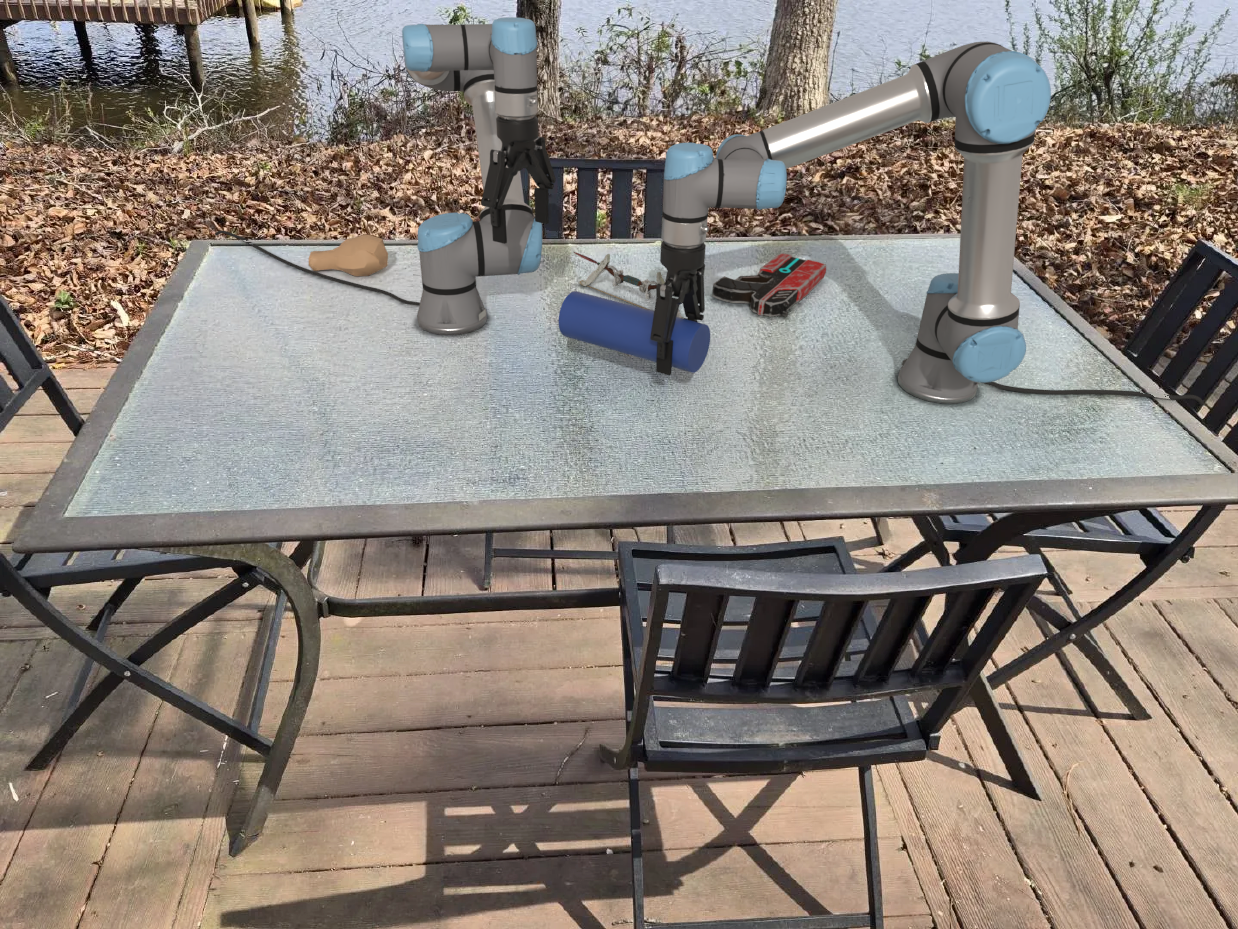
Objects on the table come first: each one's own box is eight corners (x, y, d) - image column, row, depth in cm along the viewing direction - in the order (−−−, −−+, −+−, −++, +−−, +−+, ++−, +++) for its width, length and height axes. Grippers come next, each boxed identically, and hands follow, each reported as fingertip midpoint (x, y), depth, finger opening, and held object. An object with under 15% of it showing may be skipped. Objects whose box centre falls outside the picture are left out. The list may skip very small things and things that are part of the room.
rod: (558, 343, 166) (557, 300, 161) (584, 327, 172) (583, 284, 167) (686, 380, 154) (689, 335, 149) (708, 361, 161) (712, 317, 156)
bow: (697, 327, 197) (701, 285, 192) (692, 329, 196) (696, 287, 191) (576, 279, 219) (576, 241, 213) (571, 281, 218) (571, 242, 212)
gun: (708, 284, 207) (784, 305, 199) (760, 245, 229) (831, 262, 221) (706, 302, 209) (781, 323, 201) (758, 261, 231) (828, 278, 223)
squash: (388, 280, 216) (377, 247, 210) (309, 287, 218) (296, 255, 212) (396, 257, 224) (386, 225, 218) (320, 264, 226) (308, 233, 219)
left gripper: (490, 131, 146) (497, 254, 158) (573, 106, 164) (573, 218, 176) (455, 125, 149) (464, 246, 161) (540, 100, 167) (542, 211, 179)
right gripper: (673, 265, 137) (666, 392, 150) (731, 228, 153) (720, 345, 165) (631, 256, 140) (628, 380, 153) (692, 220, 156) (684, 335, 168)
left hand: (521, 231), depth 168 cm, fingers open, 13 cm apart
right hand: (676, 362), depth 159 cm, fingers closed on rod, 9 cm apart
